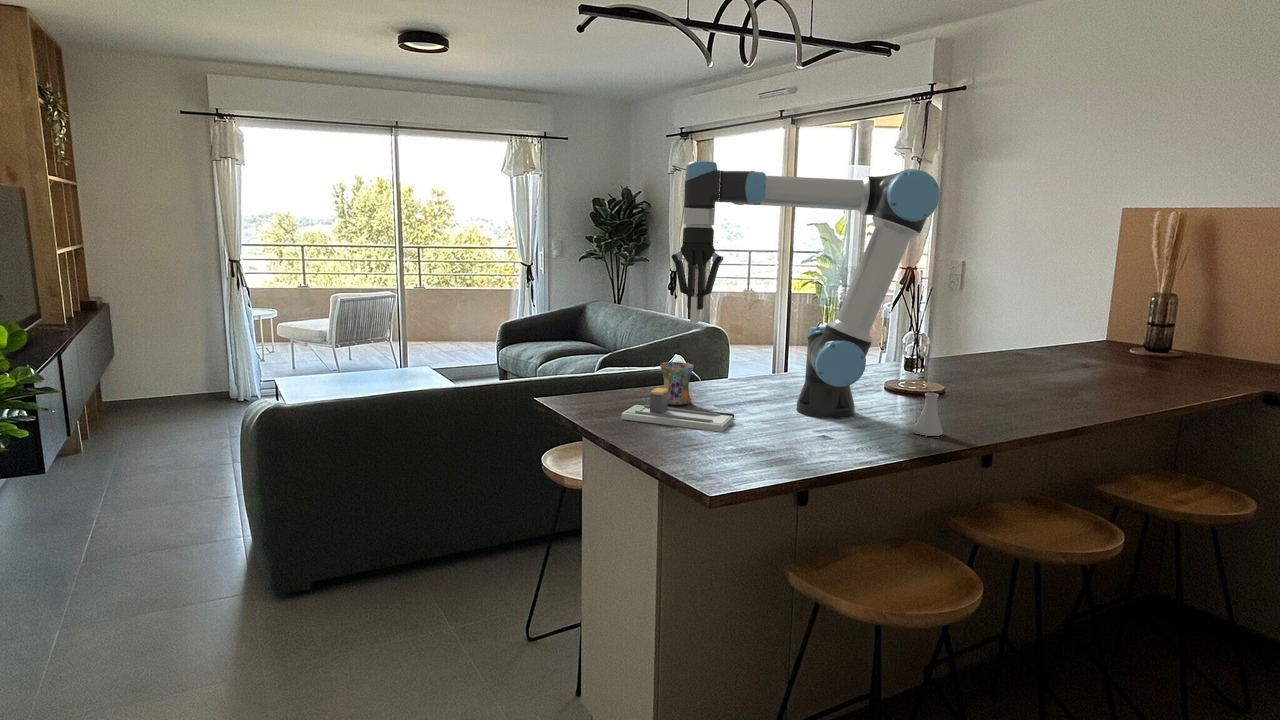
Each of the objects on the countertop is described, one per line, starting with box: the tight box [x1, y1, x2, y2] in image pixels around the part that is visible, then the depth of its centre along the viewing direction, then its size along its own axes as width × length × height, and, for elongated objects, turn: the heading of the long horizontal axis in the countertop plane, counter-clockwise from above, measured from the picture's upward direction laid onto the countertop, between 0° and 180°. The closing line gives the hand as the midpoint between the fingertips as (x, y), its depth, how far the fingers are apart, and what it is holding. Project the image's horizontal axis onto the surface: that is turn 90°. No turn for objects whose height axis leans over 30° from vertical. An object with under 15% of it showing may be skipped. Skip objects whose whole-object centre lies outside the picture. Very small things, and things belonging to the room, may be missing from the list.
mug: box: [659, 361, 695, 406], centre depth 212 cm, size 12×9×11 cm
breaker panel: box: [621, 404, 734, 433], centre depth 192 cm, size 26×10×2 cm, turn 69°
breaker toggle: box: [649, 387, 669, 414], centre depth 193 cm, size 3×5×6 cm, turn 159°
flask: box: [912, 392, 944, 437], centre depth 186 cm, size 7×7×10 cm
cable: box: [668, 406, 735, 419], centre depth 199 cm, size 23×1×1 cm, turn 73°
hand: (694, 322), depth 192 cm, fingers closed
